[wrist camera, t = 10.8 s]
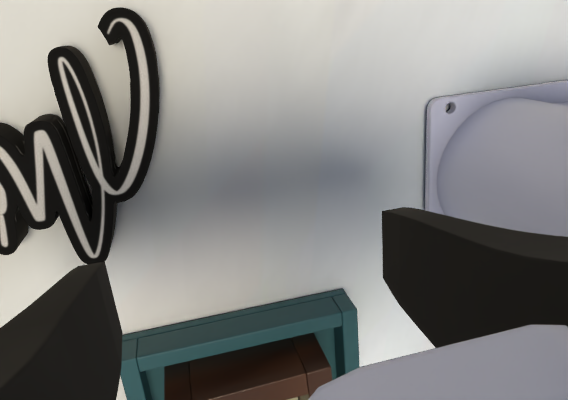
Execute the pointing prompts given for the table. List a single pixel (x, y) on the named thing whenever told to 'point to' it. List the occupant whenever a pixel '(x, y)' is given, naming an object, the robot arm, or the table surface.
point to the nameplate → (80, 148)
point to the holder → (241, 338)
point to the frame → (252, 373)
